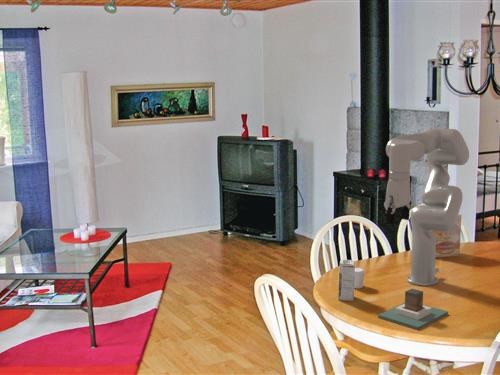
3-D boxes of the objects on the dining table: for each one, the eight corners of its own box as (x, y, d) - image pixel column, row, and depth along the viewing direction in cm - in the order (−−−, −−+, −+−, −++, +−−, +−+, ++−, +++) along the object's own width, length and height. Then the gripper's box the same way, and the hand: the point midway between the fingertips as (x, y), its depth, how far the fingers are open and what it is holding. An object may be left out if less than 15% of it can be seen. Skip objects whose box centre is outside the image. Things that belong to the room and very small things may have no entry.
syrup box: (338, 295, 259) (339, 259, 256) (354, 296, 258) (355, 259, 255) (338, 300, 253) (338, 263, 251) (354, 301, 252) (354, 264, 250)
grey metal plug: (411, 309, 240) (412, 288, 239) (422, 313, 237) (423, 291, 236) (404, 313, 237) (405, 291, 236) (415, 316, 234) (416, 294, 233)
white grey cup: (363, 289, 265) (364, 272, 264) (346, 288, 267) (346, 271, 266) (364, 284, 272) (364, 267, 271) (347, 283, 273) (347, 266, 272)
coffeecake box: (430, 258, 307) (432, 216, 304) (423, 254, 314) (424, 213, 310) (460, 255, 311) (462, 214, 307) (451, 251, 317) (453, 211, 314)
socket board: (409, 303, 250) (409, 295, 249) (448, 314, 239) (448, 306, 238) (378, 317, 236) (378, 309, 235) (417, 329, 225) (418, 321, 224)
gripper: (403, 172, 254) (402, 216, 257) (377, 177, 242) (375, 224, 245) (421, 174, 249) (419, 219, 252) (394, 180, 237) (393, 227, 240)
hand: (397, 221), depth 249 cm, fingers open, 9 cm apart
